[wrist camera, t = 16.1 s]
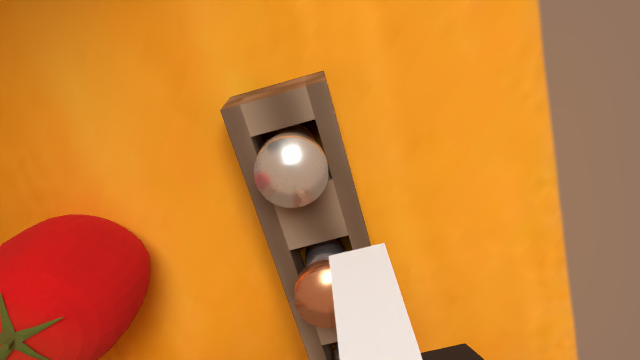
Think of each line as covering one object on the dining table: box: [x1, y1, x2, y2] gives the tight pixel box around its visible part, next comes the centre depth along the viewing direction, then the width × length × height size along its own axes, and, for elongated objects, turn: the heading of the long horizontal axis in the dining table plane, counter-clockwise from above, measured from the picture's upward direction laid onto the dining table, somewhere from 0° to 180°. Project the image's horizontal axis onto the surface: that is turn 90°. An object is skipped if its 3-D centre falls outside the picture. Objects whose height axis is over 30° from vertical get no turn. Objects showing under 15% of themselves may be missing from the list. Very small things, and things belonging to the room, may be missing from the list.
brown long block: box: [220, 71, 371, 360], centre depth 43 cm, size 8×30×5 cm, turn 16°
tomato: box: [0, 215, 150, 360], centre depth 38 cm, size 13×11×14 cm
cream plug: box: [254, 124, 328, 208], centre depth 37 cm, size 5×5×7 cm
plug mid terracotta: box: [294, 238, 346, 328], centre depth 39 cm, size 5×5×7 cm
